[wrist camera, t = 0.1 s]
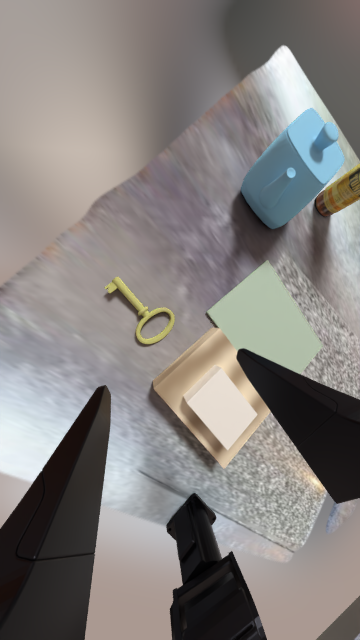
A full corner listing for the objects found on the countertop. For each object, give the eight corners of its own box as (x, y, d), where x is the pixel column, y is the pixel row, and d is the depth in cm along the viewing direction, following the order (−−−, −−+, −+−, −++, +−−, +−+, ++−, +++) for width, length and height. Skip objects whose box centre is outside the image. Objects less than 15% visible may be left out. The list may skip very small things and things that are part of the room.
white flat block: (248, 407, 24) (257, 414, 22) (220, 439, 22) (227, 450, 20) (214, 364, 22) (221, 367, 21) (183, 395, 21) (186, 402, 19)
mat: (320, 345, 32) (323, 345, 32) (273, 402, 29) (276, 403, 28) (265, 261, 29) (267, 259, 29) (206, 312, 26) (207, 311, 25)
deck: (263, 395, 28) (276, 404, 25) (215, 452, 25) (224, 468, 22) (211, 327, 26) (219, 328, 23) (152, 380, 23) (153, 388, 20)
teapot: (216, 206, 27) (264, 124, 16) (265, 160, 31) (332, 66, 19) (256, 253, 29) (323, 209, 18) (297, 205, 32) (376, 142, 21)
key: (116, 277, 23) (113, 272, 21) (178, 316, 25) (181, 315, 23) (90, 314, 22) (84, 313, 20) (158, 351, 24) (159, 353, 22)
